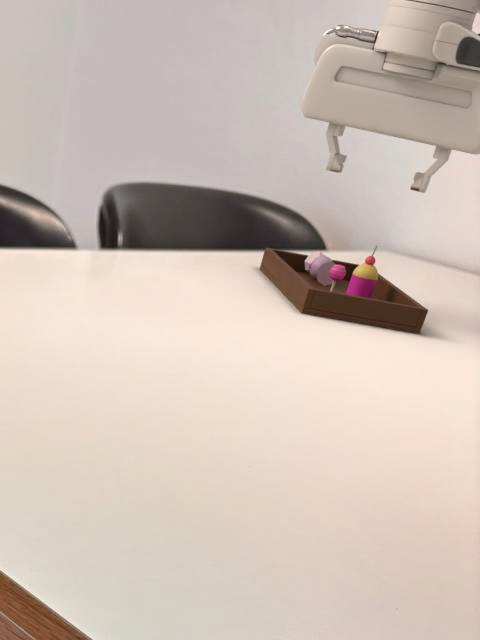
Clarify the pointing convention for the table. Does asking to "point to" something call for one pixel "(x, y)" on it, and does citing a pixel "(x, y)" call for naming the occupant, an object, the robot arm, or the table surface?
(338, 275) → the candy
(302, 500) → the table surface
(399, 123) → the robot arm
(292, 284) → the tray
